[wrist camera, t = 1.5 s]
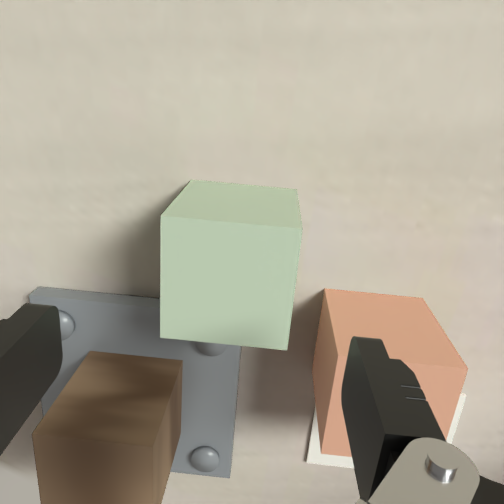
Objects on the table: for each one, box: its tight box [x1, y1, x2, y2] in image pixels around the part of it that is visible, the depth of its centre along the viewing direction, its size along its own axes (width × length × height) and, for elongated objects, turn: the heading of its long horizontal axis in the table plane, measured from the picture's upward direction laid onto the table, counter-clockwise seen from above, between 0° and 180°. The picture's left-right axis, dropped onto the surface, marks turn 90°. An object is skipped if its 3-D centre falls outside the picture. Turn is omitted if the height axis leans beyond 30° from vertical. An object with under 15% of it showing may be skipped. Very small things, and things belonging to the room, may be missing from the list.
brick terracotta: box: [312, 288, 468, 457], centre depth 21 cm, size 5×5×6 cm
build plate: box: [29, 287, 241, 478], centre depth 25 cm, size 11×11×1 cm
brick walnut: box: [32, 351, 183, 504], centre depth 22 cm, size 5×5×6 cm
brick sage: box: [160, 180, 303, 350], centre depth 19 cm, size 5×5×6 cm
